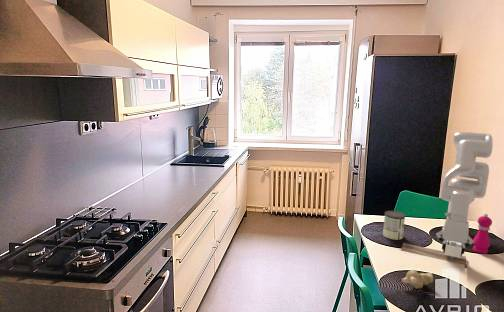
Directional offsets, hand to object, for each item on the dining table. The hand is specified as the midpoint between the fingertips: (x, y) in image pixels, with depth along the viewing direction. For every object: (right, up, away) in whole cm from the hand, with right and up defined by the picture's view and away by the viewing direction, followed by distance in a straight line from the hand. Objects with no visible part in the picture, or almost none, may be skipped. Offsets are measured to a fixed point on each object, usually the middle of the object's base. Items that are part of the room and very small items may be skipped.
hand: (452, 252), depth 164 cm
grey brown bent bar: (-7, -3, +5) cm, 9 cm away
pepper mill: (+21, -3, +12) cm, 24 cm away
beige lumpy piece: (-28, -8, -22) cm, 37 cm away
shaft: (0, -2, +1) cm, 3 cm away
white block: (0, 0, 0) cm, 0 cm away
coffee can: (-19, +1, +24) cm, 31 cm away
